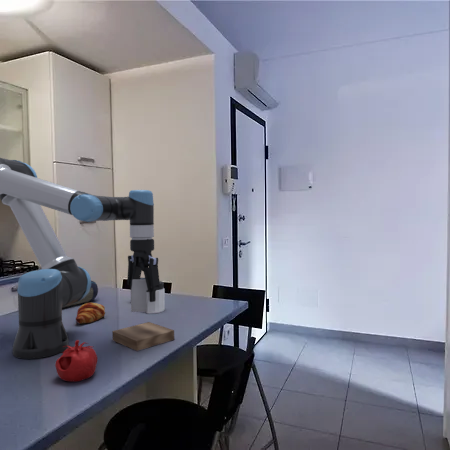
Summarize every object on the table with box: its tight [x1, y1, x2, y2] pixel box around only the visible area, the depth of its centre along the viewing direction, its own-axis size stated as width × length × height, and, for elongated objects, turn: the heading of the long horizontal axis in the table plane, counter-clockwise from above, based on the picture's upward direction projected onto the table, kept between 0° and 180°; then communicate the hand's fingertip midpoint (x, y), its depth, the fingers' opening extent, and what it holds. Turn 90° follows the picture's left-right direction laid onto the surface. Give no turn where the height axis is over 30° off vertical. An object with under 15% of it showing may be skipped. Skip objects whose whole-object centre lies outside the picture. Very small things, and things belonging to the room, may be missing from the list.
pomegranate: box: [54, 339, 98, 383], centre depth 95 cm, size 10×10×9 cm
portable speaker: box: [62, 280, 99, 309], centre depth 171 cm, size 25×10×10 cm, turn 149°
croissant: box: [75, 302, 106, 325], centre depth 148 cm, size 21×10×8 cm, turn 175°
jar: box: [145, 280, 166, 314], centre depth 159 cm, size 9×8×12 cm
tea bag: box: [130, 279, 148, 313], centre depth 122 cm, size 4×7×10 cm, turn 86°
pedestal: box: [112, 321, 175, 352], centre depth 122 cm, size 14×14×3 cm
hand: (143, 309), depth 122 cm, fingers closed on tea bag, 7 cm apart
